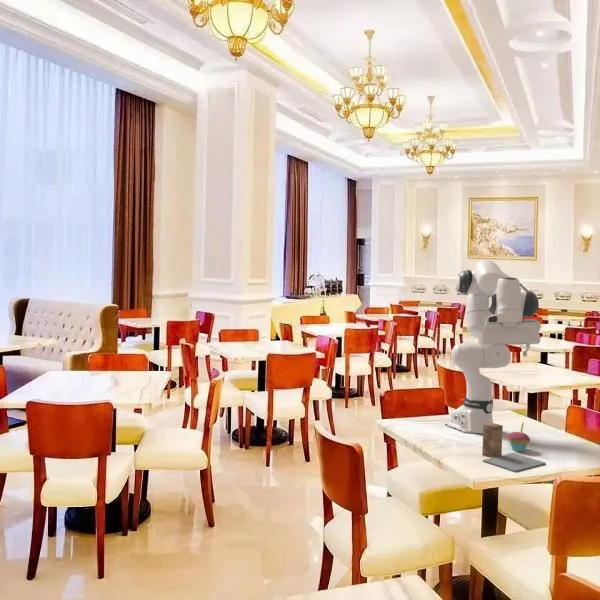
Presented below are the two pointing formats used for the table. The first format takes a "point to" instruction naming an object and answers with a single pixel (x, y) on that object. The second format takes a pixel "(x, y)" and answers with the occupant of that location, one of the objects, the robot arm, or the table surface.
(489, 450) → the walnut block
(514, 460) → the mat
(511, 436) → the cupcake
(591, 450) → the table surface
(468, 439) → the table surface
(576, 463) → the table surface
